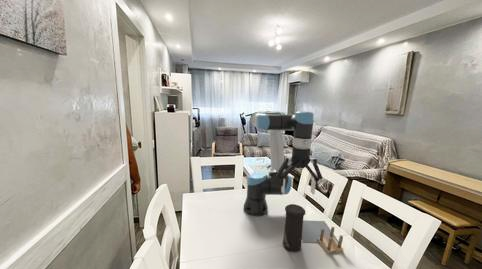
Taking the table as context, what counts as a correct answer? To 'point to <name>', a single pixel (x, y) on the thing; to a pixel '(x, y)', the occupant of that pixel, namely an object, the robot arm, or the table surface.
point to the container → (293, 227)
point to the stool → (330, 242)
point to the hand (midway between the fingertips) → (297, 192)
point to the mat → (314, 231)
